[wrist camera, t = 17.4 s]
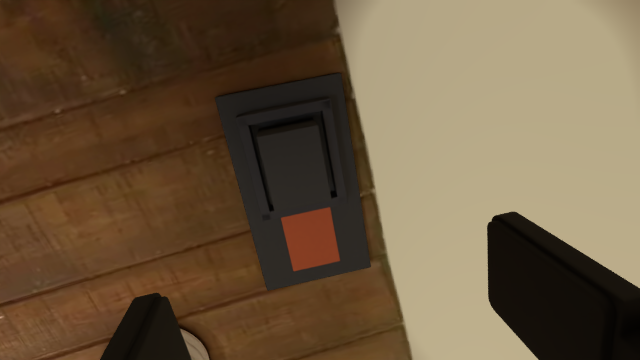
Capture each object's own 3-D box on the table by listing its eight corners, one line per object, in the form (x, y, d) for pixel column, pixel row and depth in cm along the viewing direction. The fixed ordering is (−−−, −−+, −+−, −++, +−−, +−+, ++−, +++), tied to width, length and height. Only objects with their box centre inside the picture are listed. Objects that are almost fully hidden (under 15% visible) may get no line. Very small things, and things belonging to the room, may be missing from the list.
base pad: (216, 96, 29) (211, 99, 26) (338, 72, 29) (344, 73, 27) (267, 284, 34) (267, 301, 32) (368, 261, 35) (375, 276, 33)
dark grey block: (258, 128, 29) (256, 137, 25) (313, 117, 29) (318, 124, 26) (274, 197, 31) (274, 213, 27) (325, 186, 31) (332, 200, 28)
